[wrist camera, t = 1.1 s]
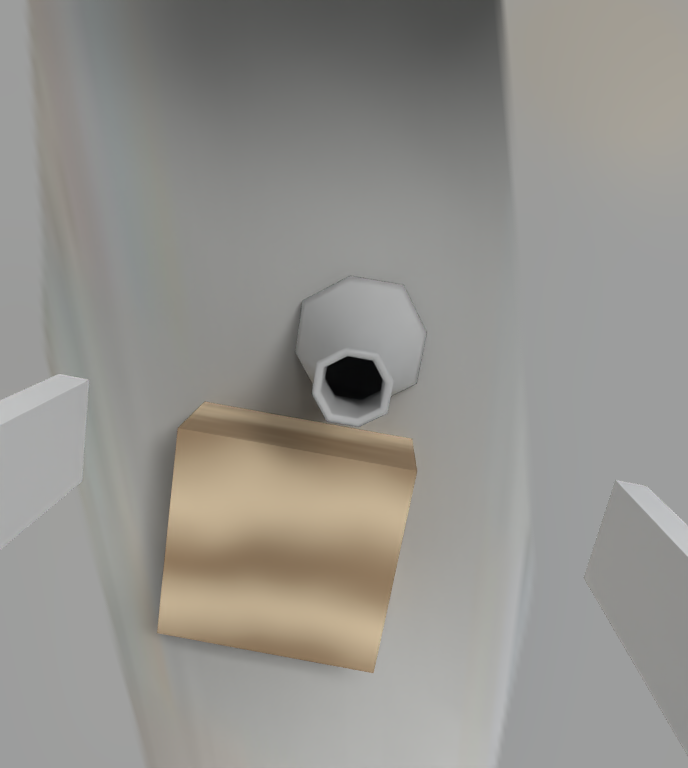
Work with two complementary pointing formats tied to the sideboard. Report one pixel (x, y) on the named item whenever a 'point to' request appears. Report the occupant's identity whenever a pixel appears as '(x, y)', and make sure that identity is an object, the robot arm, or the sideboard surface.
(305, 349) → the flask
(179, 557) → the oak block
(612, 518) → the robot arm
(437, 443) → the sideboard surface
